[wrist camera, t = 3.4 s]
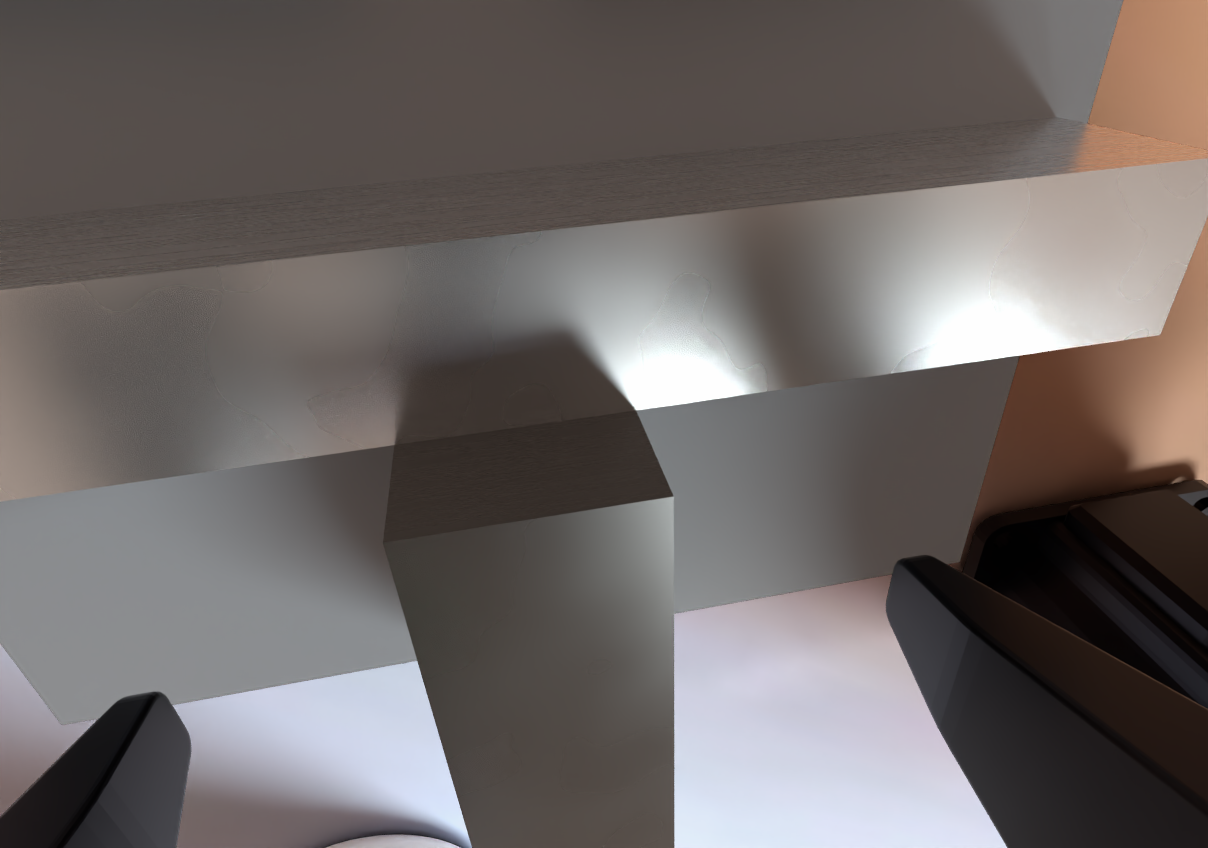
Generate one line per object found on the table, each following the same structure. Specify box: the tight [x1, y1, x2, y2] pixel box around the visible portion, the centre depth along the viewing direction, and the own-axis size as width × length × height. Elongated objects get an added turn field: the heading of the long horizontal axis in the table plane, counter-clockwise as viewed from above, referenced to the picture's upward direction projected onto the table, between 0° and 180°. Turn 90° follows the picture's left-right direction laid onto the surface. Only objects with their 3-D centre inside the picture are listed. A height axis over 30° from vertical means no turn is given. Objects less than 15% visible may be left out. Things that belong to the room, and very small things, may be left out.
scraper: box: [0, 117, 1208, 848], centre depth 9 cm, size 8×15×4 cm, turn 93°
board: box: [0, 0, 1123, 725], centre depth 10 cm, size 16×16×3 cm
